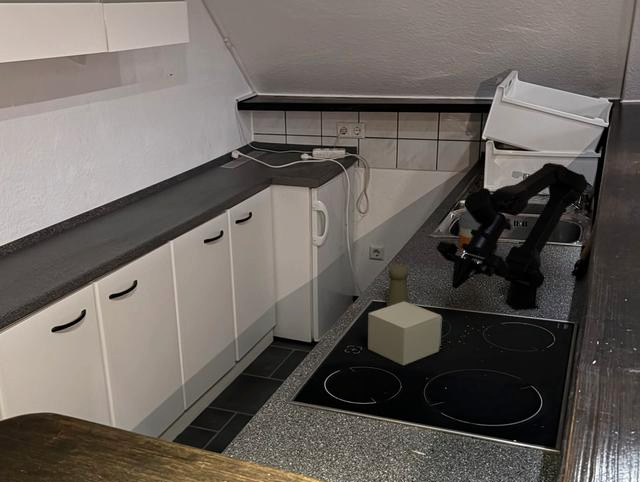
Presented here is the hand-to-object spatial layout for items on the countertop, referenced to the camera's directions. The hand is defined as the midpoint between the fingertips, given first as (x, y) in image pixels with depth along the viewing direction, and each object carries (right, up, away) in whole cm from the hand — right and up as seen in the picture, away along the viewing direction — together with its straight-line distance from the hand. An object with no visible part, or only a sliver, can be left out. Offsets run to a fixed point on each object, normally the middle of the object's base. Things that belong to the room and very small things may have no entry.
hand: (453, 287), depth 183 cm
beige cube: (-13, -15, -5) cm, 20 cm away
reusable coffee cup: (+19, +9, +53) cm, 57 cm away
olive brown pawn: (-10, -4, +22) cm, 24 cm away
